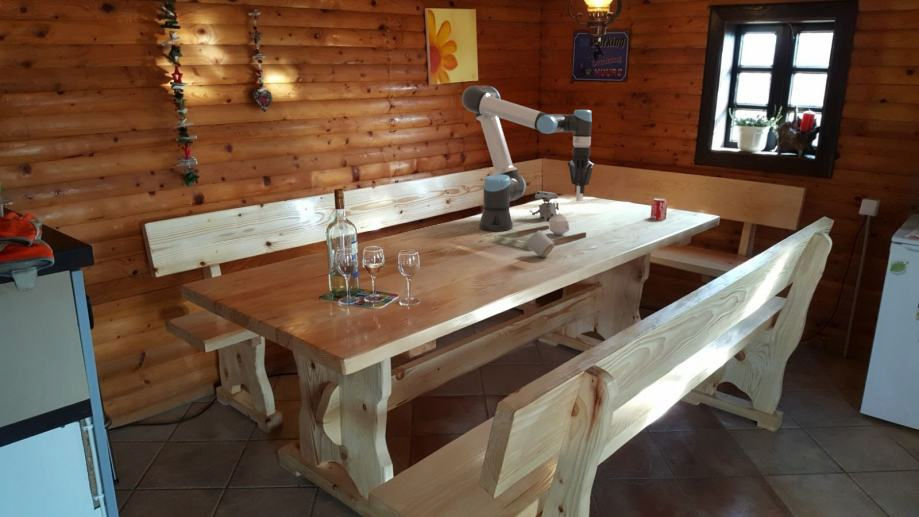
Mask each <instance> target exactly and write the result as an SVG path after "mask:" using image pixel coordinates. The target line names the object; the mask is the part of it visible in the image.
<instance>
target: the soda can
mask: <svg viewBox="0 0 919 517" xmlns="http://www.w3.org/2000/svg"><path fill="white" fill-rule="evenodd" d="M650 207H651V208H650V209H651V210H650V219H651V220H654V221H665V220H667V211H668V202H667V199H666V198H659V197H656V198H655V197H654V198H653V200H652V202H651V206H650Z"/></svg>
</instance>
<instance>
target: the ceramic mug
mask: <svg viewBox="0 0 919 517" xmlns="http://www.w3.org/2000/svg"><path fill="white" fill-rule="evenodd" d="M526 242H527V246H528V247H529V248H530V249H532V250H531V251H533V252H534V253H535V254H536V255H538V257H541V258H545V257H547V256H548V255H549V254H550V253H552V251H553V249H554V247H555V246H554V243H553V242H552V240H551V238H549V237H548V236H547V235H546V234H545V233H544V232H543V231H540V230H539V231H537V232H536V233H532V234H531V236H530V238H529V239H528V240H527V241H526Z"/></svg>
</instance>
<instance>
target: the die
mask: <svg viewBox="0 0 919 517" xmlns="http://www.w3.org/2000/svg"><path fill="white" fill-rule="evenodd" d="M569 221H570V220H569V218H567V217H566V216H565V215H564V214H562V213H560V212H559V213H558V214H557V215H556V216H554V217H552V218H548V222H549V231H550V232H552V233H553V234H555V235H556V236H562V235H564V234H566V233H568V232H569V231H570V223H569Z"/></svg>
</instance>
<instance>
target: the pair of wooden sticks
mask: <svg viewBox="0 0 919 517" xmlns="http://www.w3.org/2000/svg"><path fill="white" fill-rule="evenodd" d="M539 230H540V231H542V232H543V231H547V230H550V225H547V224H546V225H542V226H541V225H540V226H537V227H531V228H526V229H522V230H516V231H512V232H507V233H500V234H496V235H493V242H494V243H497V244H503V245H507V246H512V247H517V248H521V249H525V250H528V251H533V250H532V249H530V248H529V247H528V246H527V242H528V241H524V240H519V239H517V238H521V237H525V236H528V235H533V234H534V233H536V232H537V231H539ZM586 238H587V232H585V231H584V232H580V233H574V234H571V235H570V234H569V235H565V236H561V237H556V238H553V239H551V238H550V239H551V240H552V242H553V243H554V247H555V246H559V245H563V244H568V243H572V242H575V241H578V240H582V239H586Z"/></svg>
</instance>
